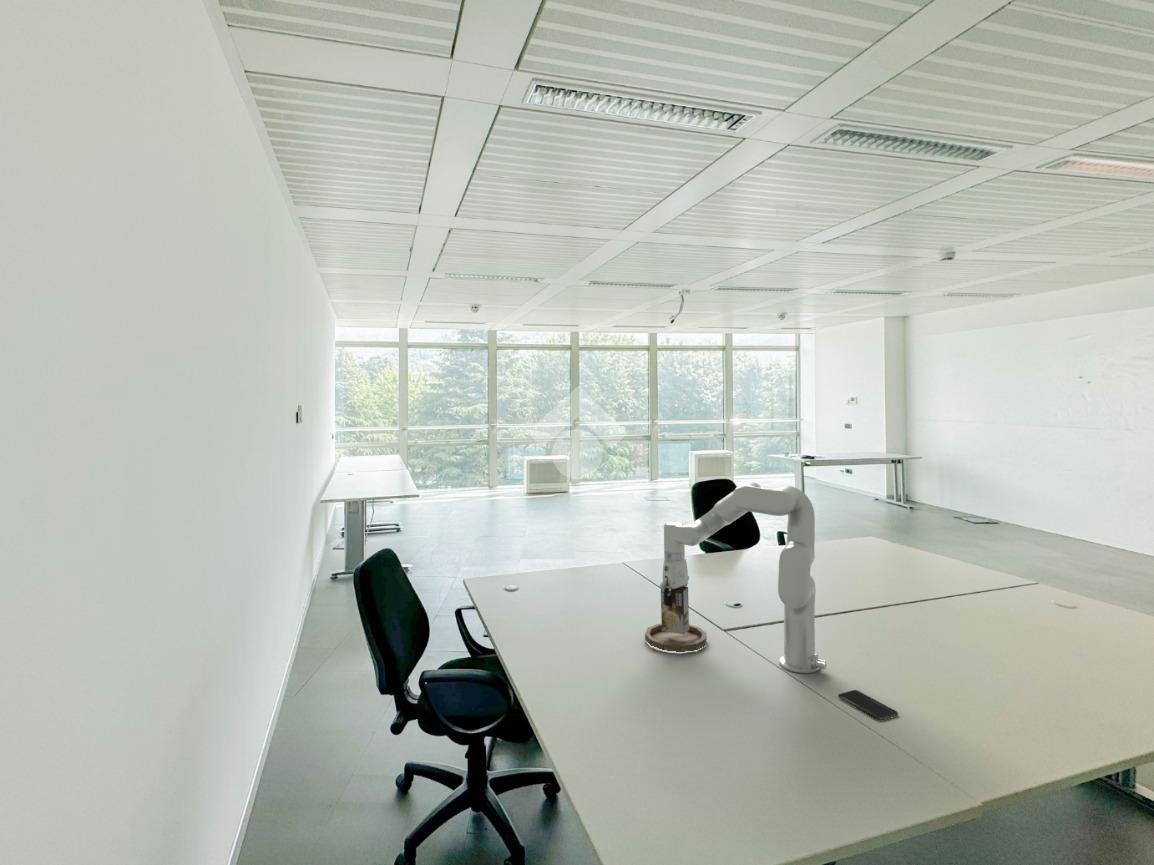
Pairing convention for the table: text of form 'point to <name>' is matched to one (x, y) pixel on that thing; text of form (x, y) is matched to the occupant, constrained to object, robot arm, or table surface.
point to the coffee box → (676, 611)
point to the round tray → (676, 639)
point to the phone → (868, 705)
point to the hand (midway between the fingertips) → (675, 602)
